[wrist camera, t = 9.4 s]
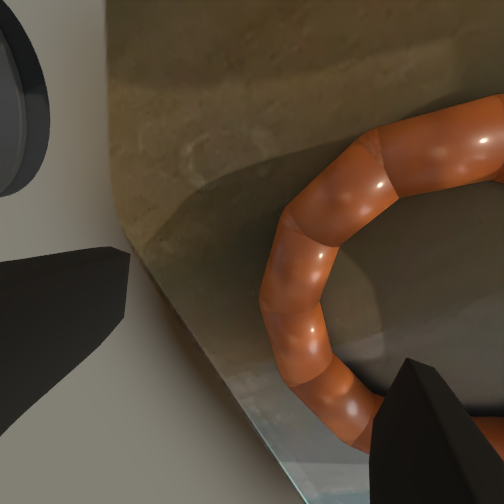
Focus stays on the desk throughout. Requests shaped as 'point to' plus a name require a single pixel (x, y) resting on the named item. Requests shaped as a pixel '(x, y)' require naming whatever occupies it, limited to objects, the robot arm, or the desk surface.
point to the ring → (346, 225)
